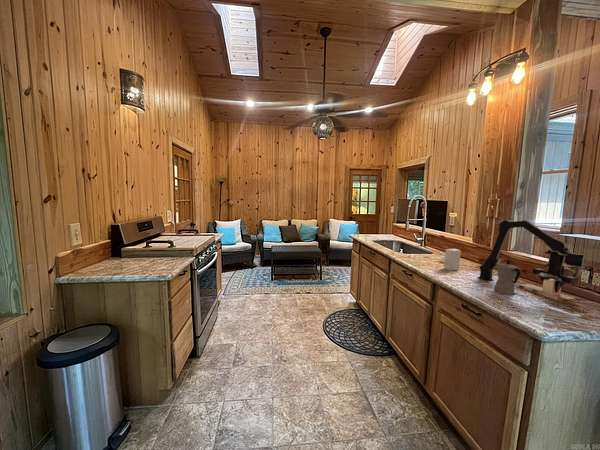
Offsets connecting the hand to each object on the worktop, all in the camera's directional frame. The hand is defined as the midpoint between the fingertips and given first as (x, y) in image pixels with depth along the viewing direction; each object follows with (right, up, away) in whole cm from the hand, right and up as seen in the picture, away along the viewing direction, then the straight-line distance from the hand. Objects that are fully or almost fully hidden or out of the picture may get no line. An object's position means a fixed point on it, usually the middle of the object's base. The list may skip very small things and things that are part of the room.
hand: (551, 290), depth 147 cm
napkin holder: (-20, +5, +66) cm, 69 cm away
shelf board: (-3, -2, +3) cm, 4 cm away
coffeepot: (-24, -2, +2) cm, 24 cm away
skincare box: (-29, +4, +46) cm, 55 cm away
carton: (0, -1, 0) cm, 1 cm away
